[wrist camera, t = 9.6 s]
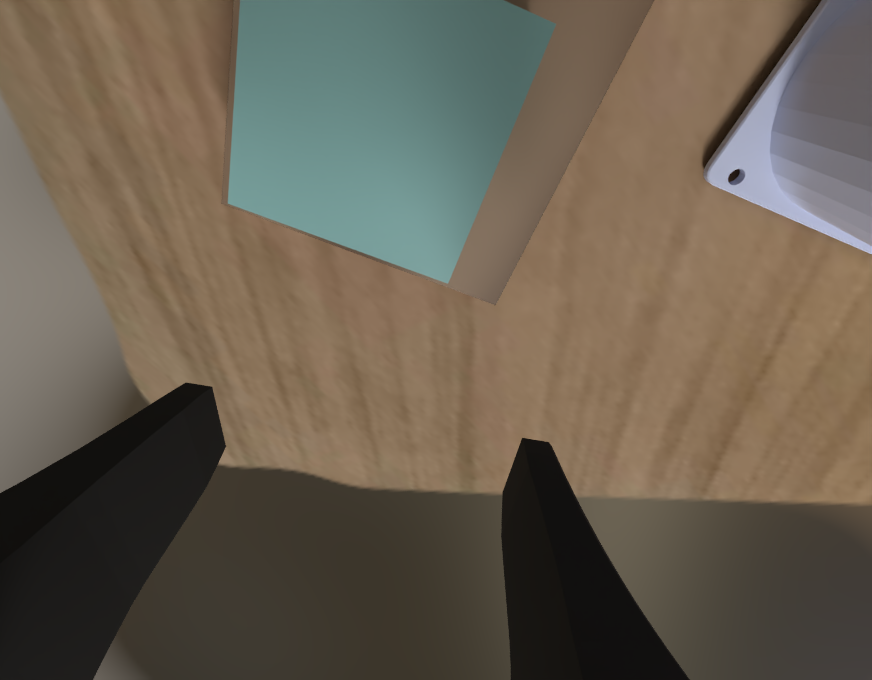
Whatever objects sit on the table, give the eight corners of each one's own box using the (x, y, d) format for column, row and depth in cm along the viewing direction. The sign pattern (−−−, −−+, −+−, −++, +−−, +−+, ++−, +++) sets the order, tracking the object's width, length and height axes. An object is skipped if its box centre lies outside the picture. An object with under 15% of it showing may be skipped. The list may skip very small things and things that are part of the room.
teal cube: (530, 30, 11) (556, 23, 7) (459, 212, 14) (447, 283, 10) (341, -54, 10) (247, -116, 6) (308, 153, 13) (227, 203, 9)
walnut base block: (638, -24, 12) (675, -40, 10) (494, 269, 18) (495, 304, 16) (300, -189, 11) (248, -254, 9) (260, 180, 17) (221, 203, 14)
